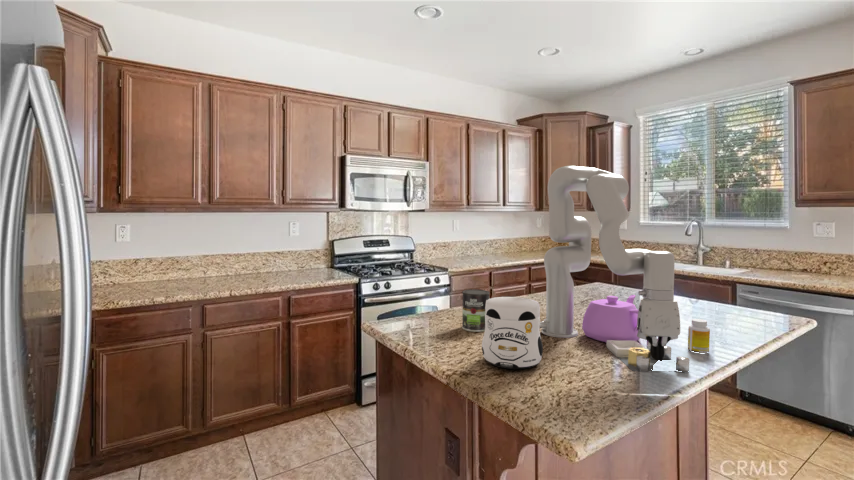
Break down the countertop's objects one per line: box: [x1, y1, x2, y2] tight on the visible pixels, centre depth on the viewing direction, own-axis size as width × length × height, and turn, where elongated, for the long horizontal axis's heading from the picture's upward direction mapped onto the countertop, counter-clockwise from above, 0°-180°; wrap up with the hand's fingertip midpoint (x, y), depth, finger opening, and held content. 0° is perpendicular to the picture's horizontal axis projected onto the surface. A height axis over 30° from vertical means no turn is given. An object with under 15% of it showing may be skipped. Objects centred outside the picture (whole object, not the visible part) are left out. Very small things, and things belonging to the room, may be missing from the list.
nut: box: [628, 347, 650, 367], centre depth 117 cm, size 6×5×4 cm
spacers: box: [636, 340, 690, 373], centre depth 120 cm, size 14×20×4 cm
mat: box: [614, 354, 658, 373], centre depth 121 cm, size 15×20×1 cm
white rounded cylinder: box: [481, 296, 544, 370], centre depth 119 cm, size 17×17×18 cm
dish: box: [606, 340, 648, 358], centre depth 127 cm, size 9×9×2 cm
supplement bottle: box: [687, 318, 711, 353], centre depth 127 cm, size 6×6×10 cm
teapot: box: [581, 294, 640, 343], centre depth 141 cm, size 23×21×15 cm
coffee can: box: [461, 289, 491, 333], centre depth 155 cm, size 10×10×14 cm
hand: (656, 358), depth 116 cm, fingers closed
